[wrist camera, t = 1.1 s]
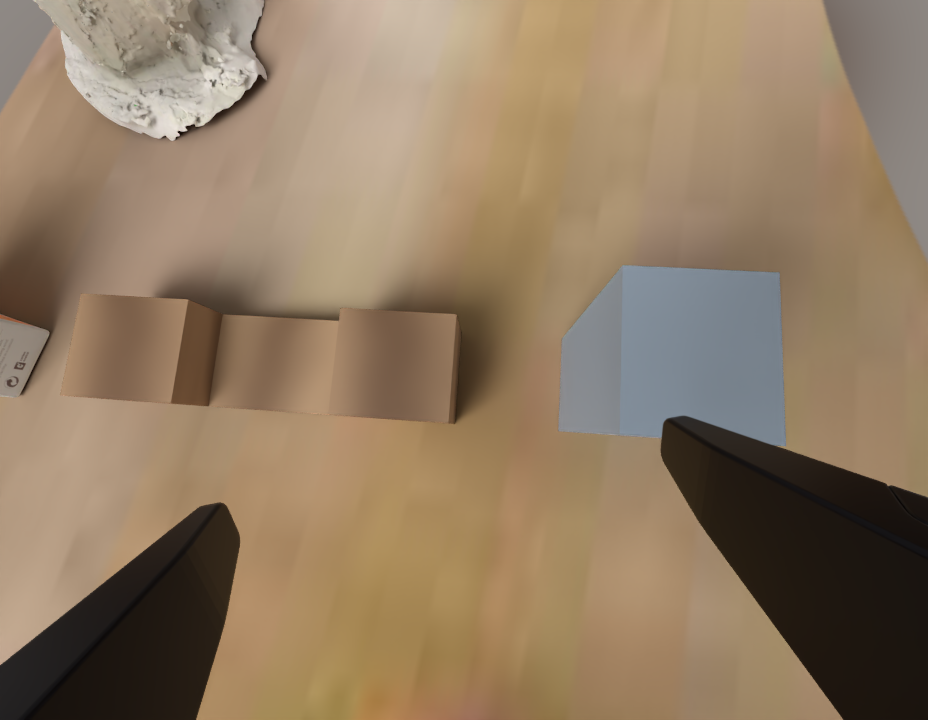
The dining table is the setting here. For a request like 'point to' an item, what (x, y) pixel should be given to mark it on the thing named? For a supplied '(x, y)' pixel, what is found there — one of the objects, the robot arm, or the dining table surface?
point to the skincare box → (18, 353)
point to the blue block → (677, 354)
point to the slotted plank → (266, 359)
